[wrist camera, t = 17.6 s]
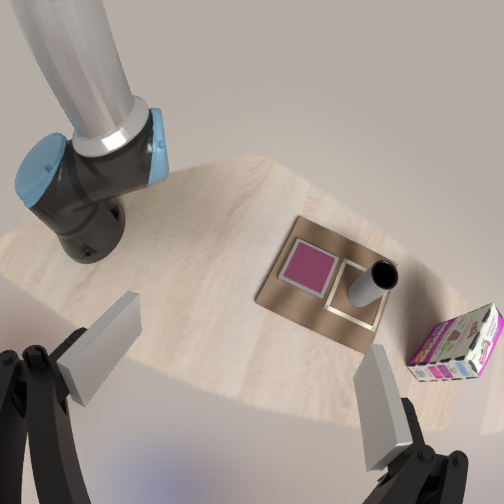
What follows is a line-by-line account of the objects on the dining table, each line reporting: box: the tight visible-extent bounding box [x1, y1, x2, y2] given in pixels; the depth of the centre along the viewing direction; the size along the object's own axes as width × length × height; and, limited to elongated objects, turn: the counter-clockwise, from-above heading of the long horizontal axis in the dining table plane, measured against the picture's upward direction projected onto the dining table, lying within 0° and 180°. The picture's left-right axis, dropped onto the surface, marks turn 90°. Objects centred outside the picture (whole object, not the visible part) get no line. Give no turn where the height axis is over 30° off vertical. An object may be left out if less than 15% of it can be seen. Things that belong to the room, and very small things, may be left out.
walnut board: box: [255, 217, 397, 354], centre depth 46 cm, size 21×18×1 cm
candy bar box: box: [407, 302, 504, 382], centre depth 34 cm, size 11×5×16 cm, turn 130°
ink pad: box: [277, 239, 339, 300], centre depth 46 cm, size 8×8×2 cm
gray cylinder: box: [348, 260, 398, 307], centre depth 40 cm, size 4×4×10 cm
